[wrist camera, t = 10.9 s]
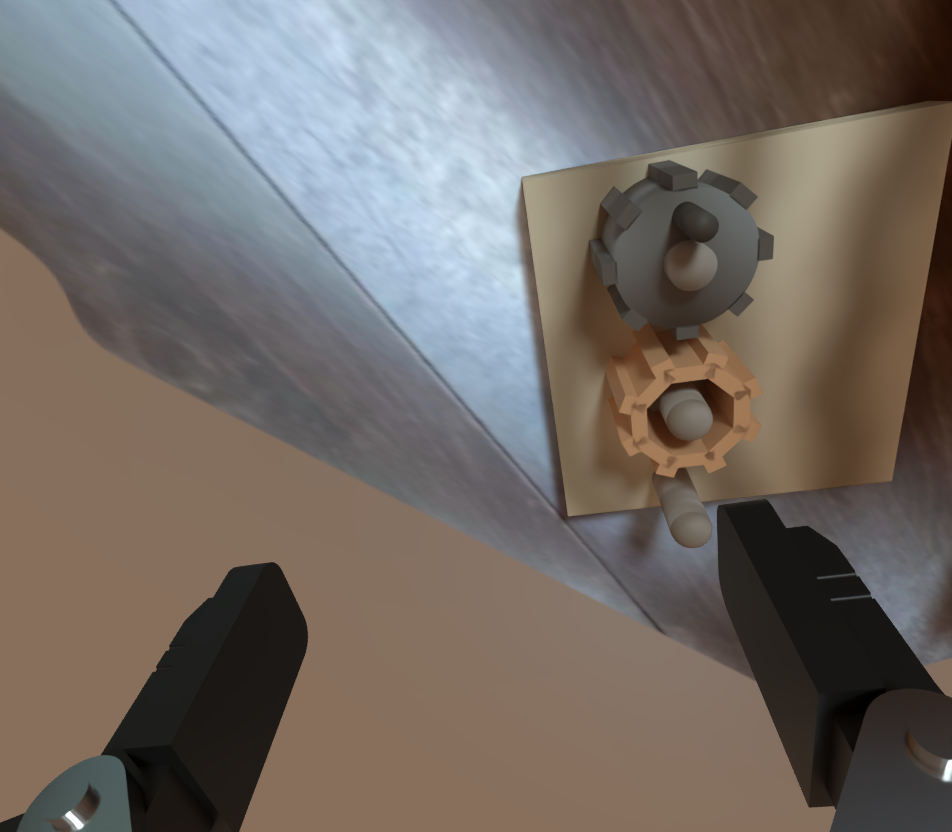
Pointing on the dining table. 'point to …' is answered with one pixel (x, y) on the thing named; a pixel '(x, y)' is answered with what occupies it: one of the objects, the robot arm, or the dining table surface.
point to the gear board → (743, 300)
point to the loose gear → (674, 362)
